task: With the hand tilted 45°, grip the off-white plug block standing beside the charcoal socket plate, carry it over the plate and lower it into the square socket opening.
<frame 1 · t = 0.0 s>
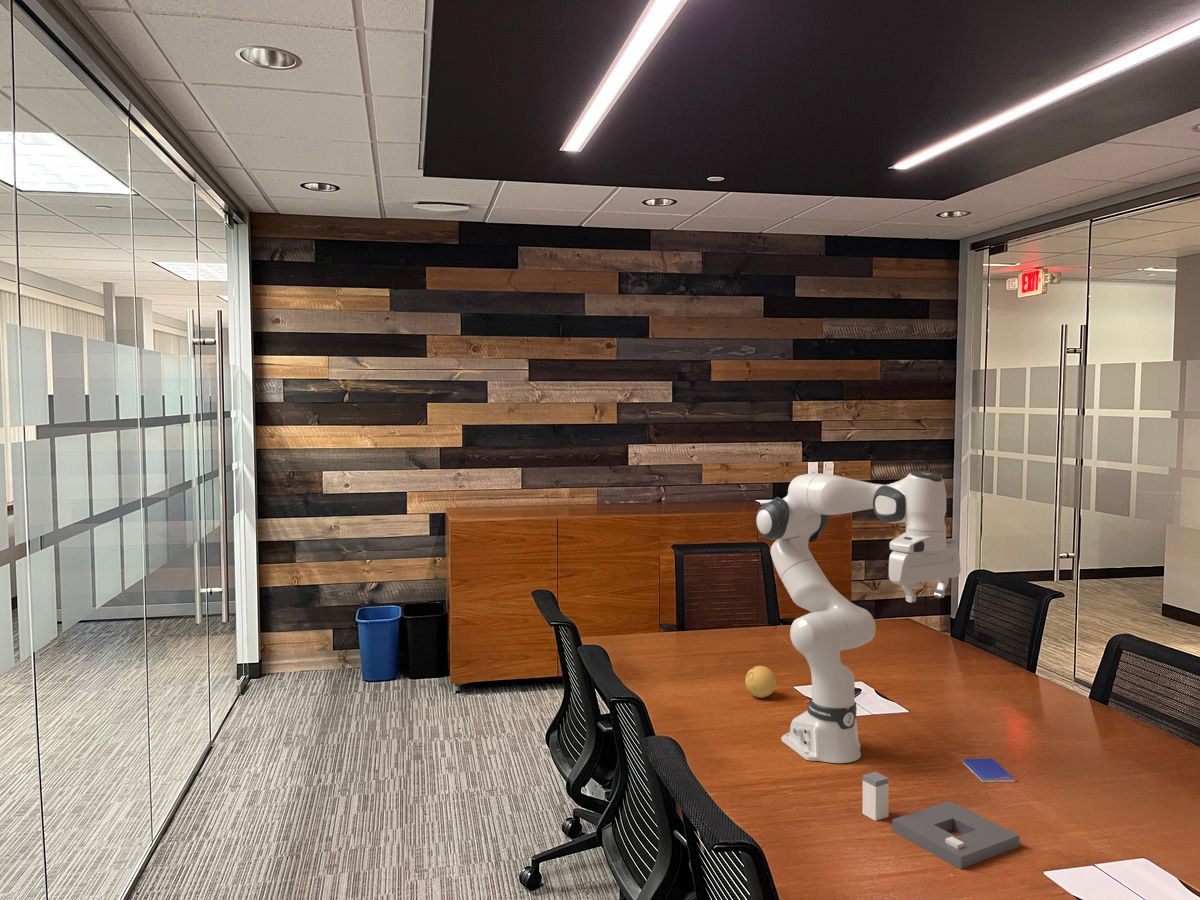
hand: (925, 599, 201), 48 cm above the table, tool pointing down, fingers open, 8 cm apart
stress ball: (760, 697, 275), on the table
socket plate: (954, 838, 185), on the table
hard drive: (988, 774, 218), on the table
plug: (875, 815, 196), on the table
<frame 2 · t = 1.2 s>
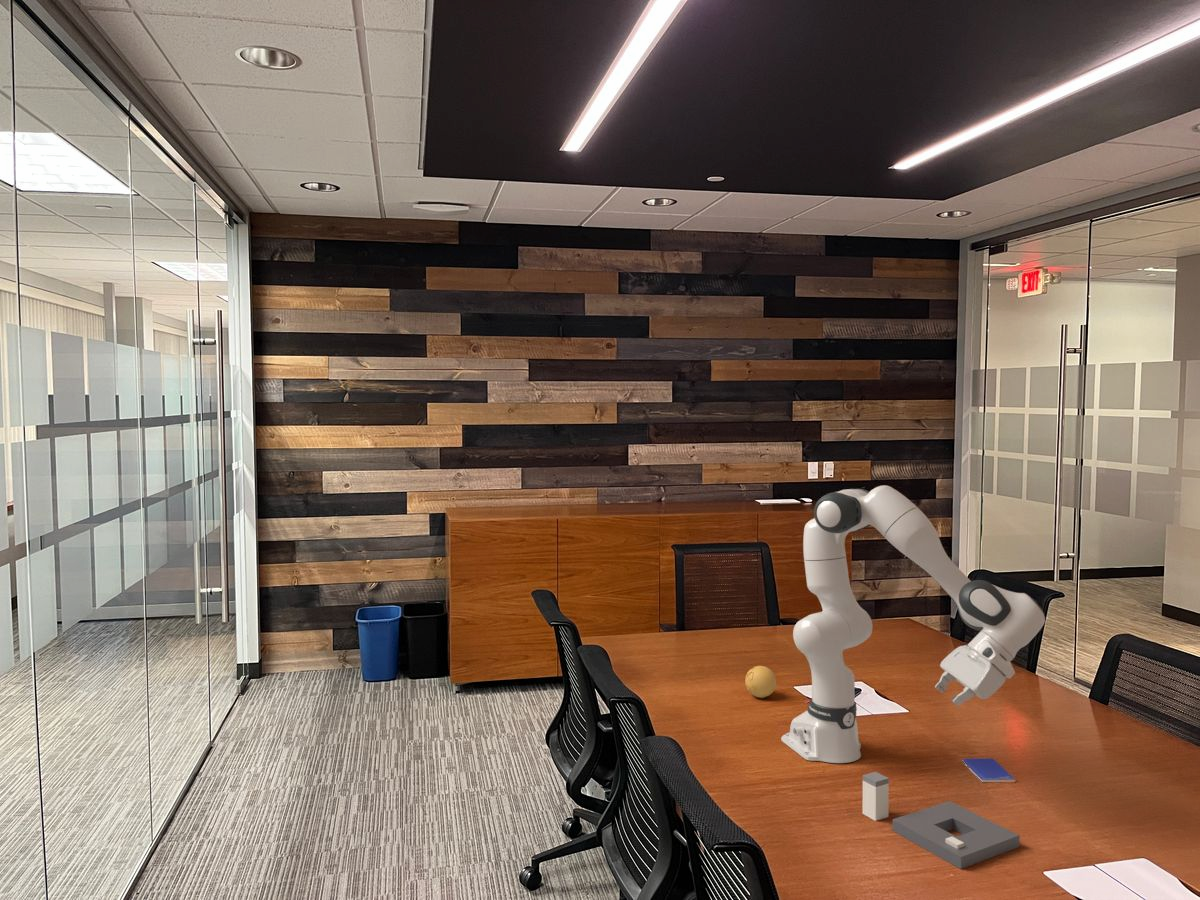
hand: (946, 696, 198), 26 cm above the table, tool tilted 45°, fingers open, 8 cm apart
nothing on the table moved.
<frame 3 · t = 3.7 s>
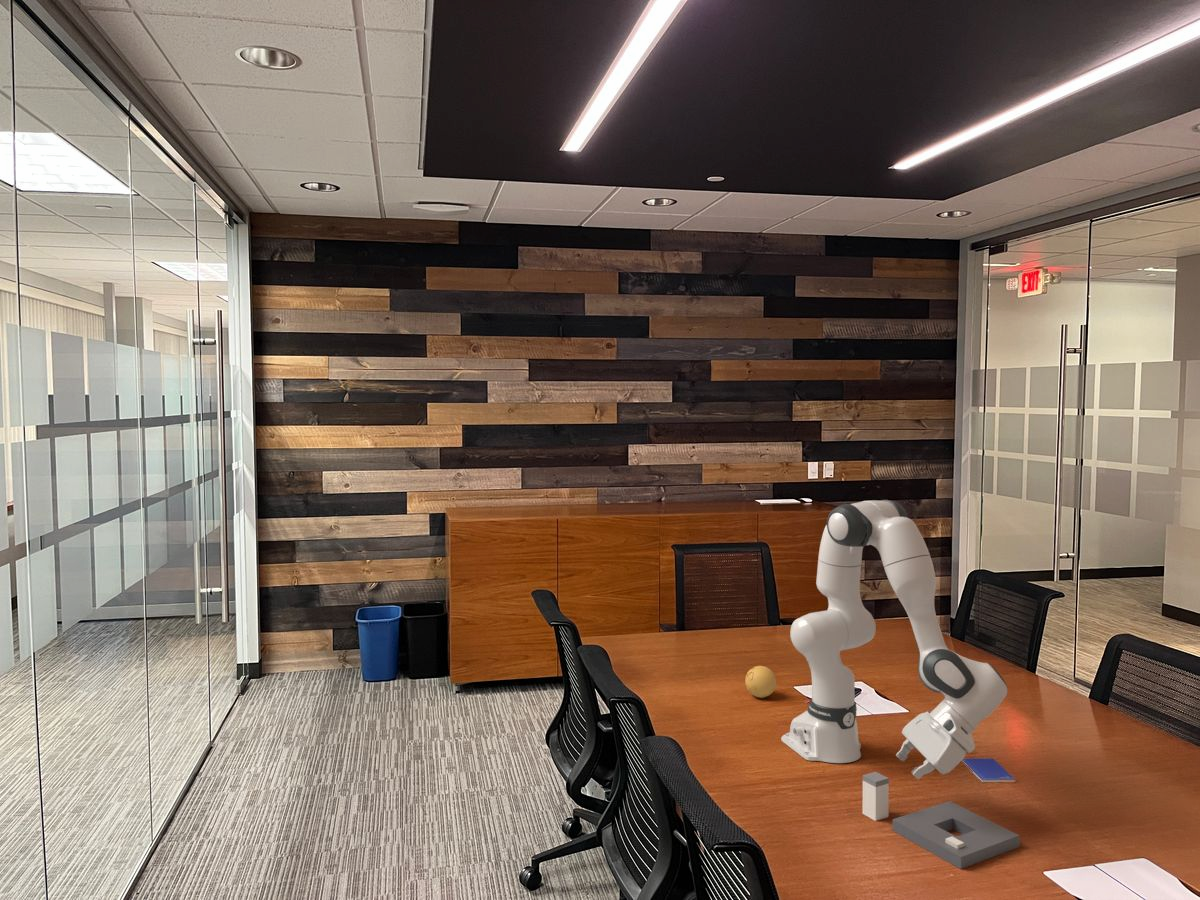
hand: (906, 767, 195), 11 cm above the table, tool tilted 45°, fingers open, 8 cm apart
nothing on the table moved.
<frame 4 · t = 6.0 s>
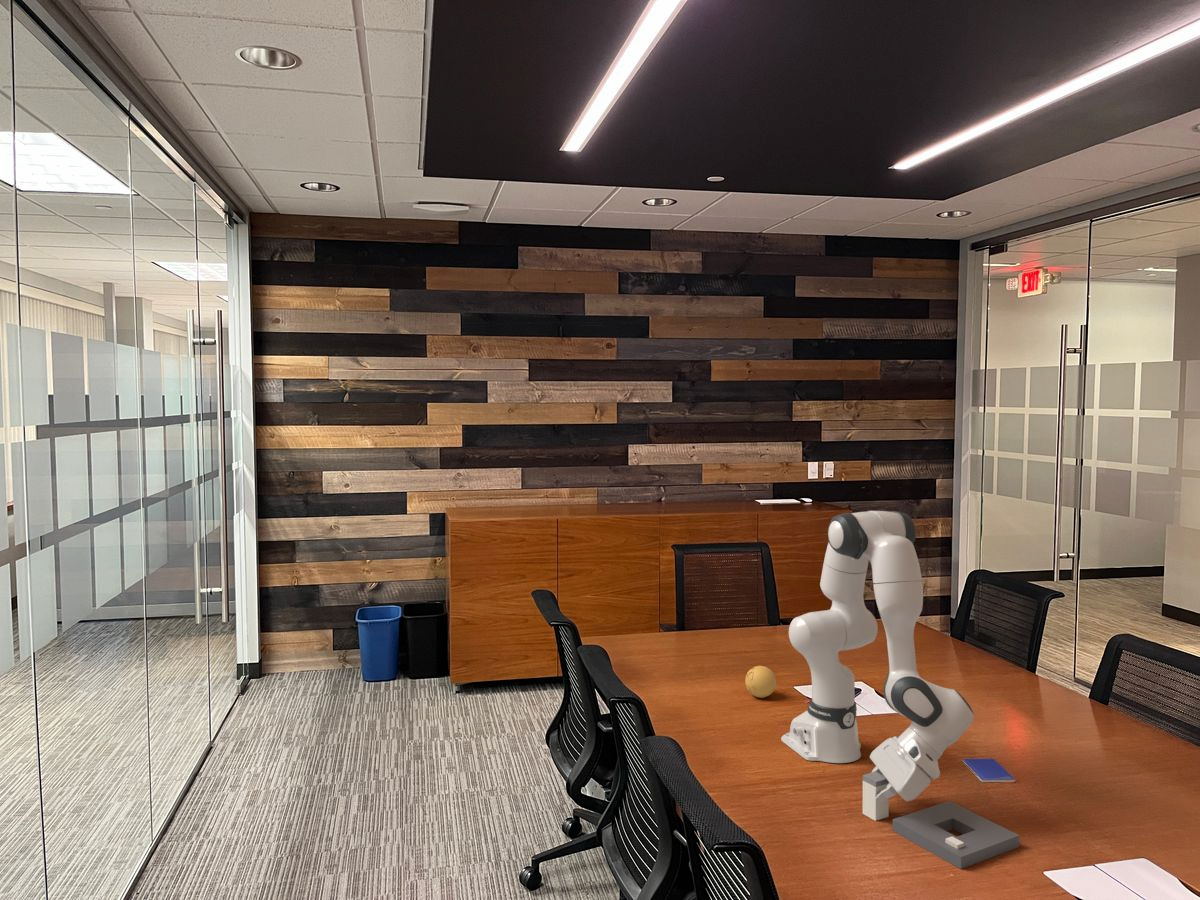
hand: (872, 792, 195), 5 cm above the table, tool tilted 45°, fingers closed on plug, 5 cm apart
plug: (875, 815, 195), on the table, touching gripper
everything else where it was.
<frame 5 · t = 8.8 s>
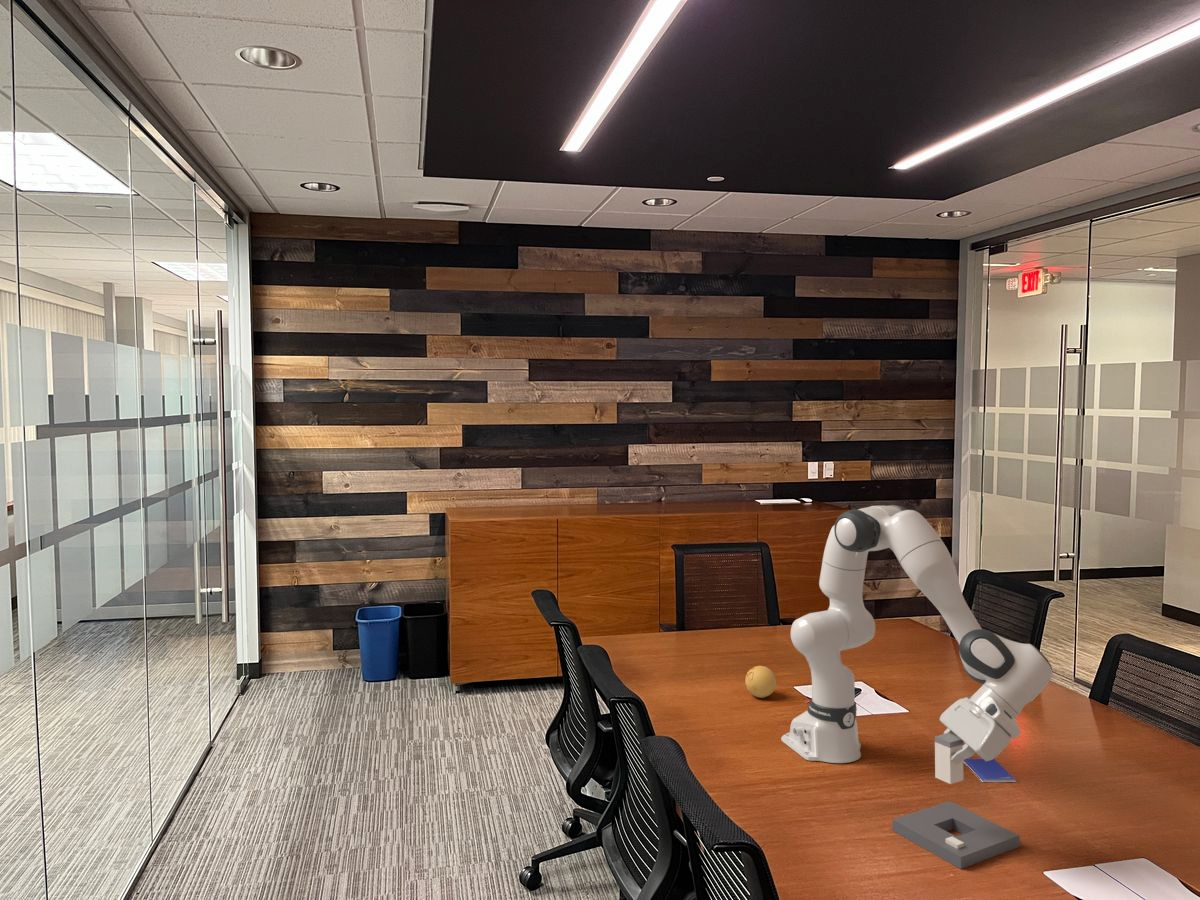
hand: (946, 755, 184), 18 cm above the table, tool tilted 45°, fingers closed on plug, 5 cm apart
plug: (949, 778, 184), point 13 cm above the table, touching gripper
everything else where it was.
when the fingers open (7 cm above the table, at t = 12.0 s): plug drops 1 cm, resting in socket plate.
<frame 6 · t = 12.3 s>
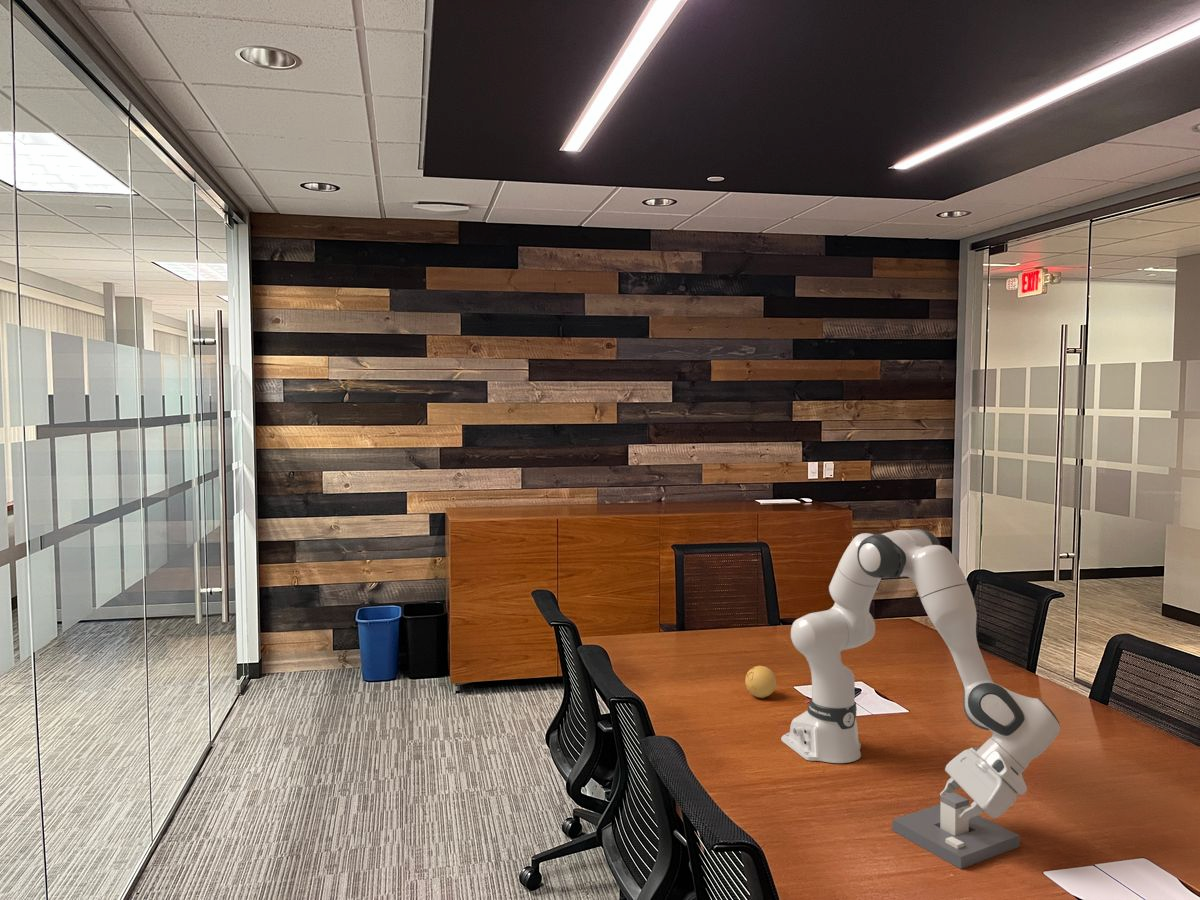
hand: (951, 808, 184), 7 cm above the table, tool tilted 45°, fingers open, 8 cm apart
plug: (954, 838, 185), resting in socket plate
everything else where it was.
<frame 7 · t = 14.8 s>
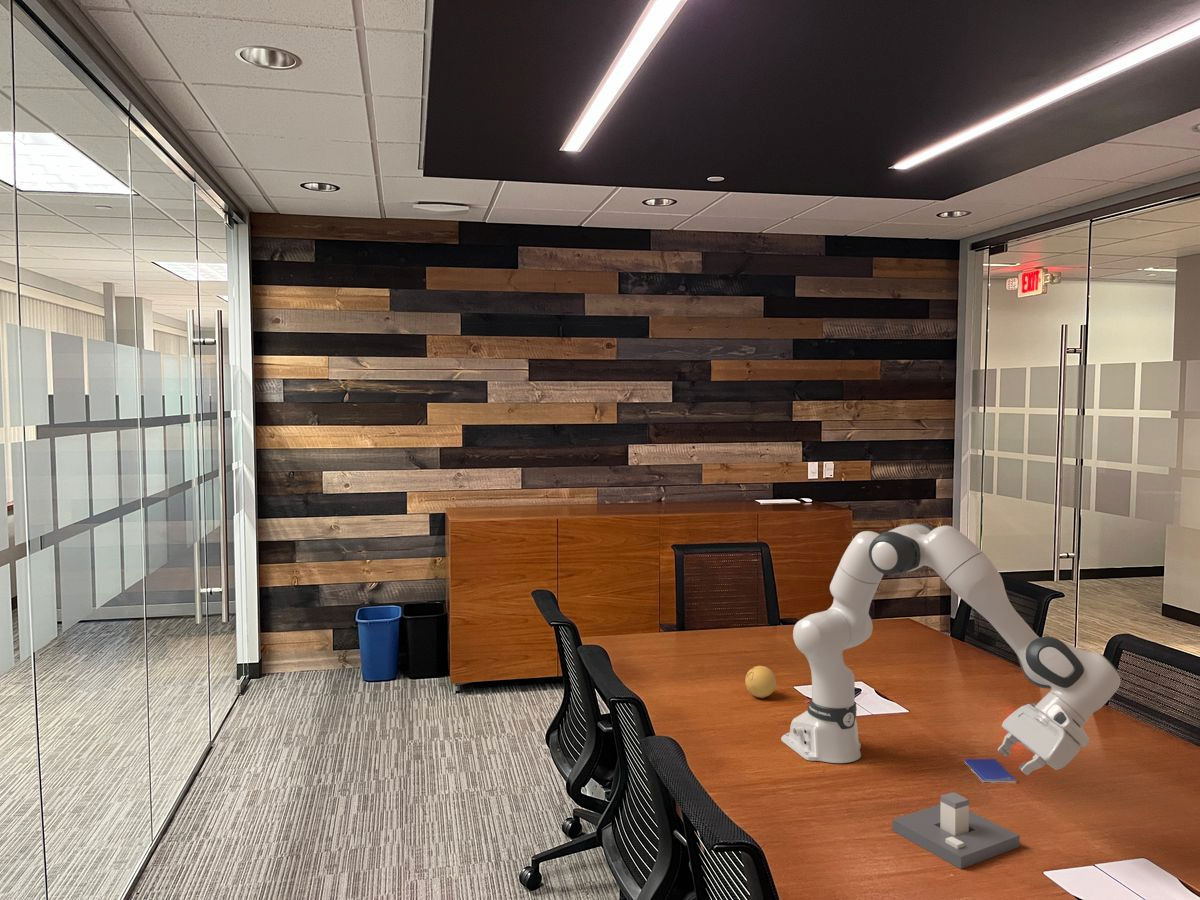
hand: (1011, 762, 184), 17 cm above the table, tool tilted 45°, fingers open, 8 cm apart
nothing on the table moved.
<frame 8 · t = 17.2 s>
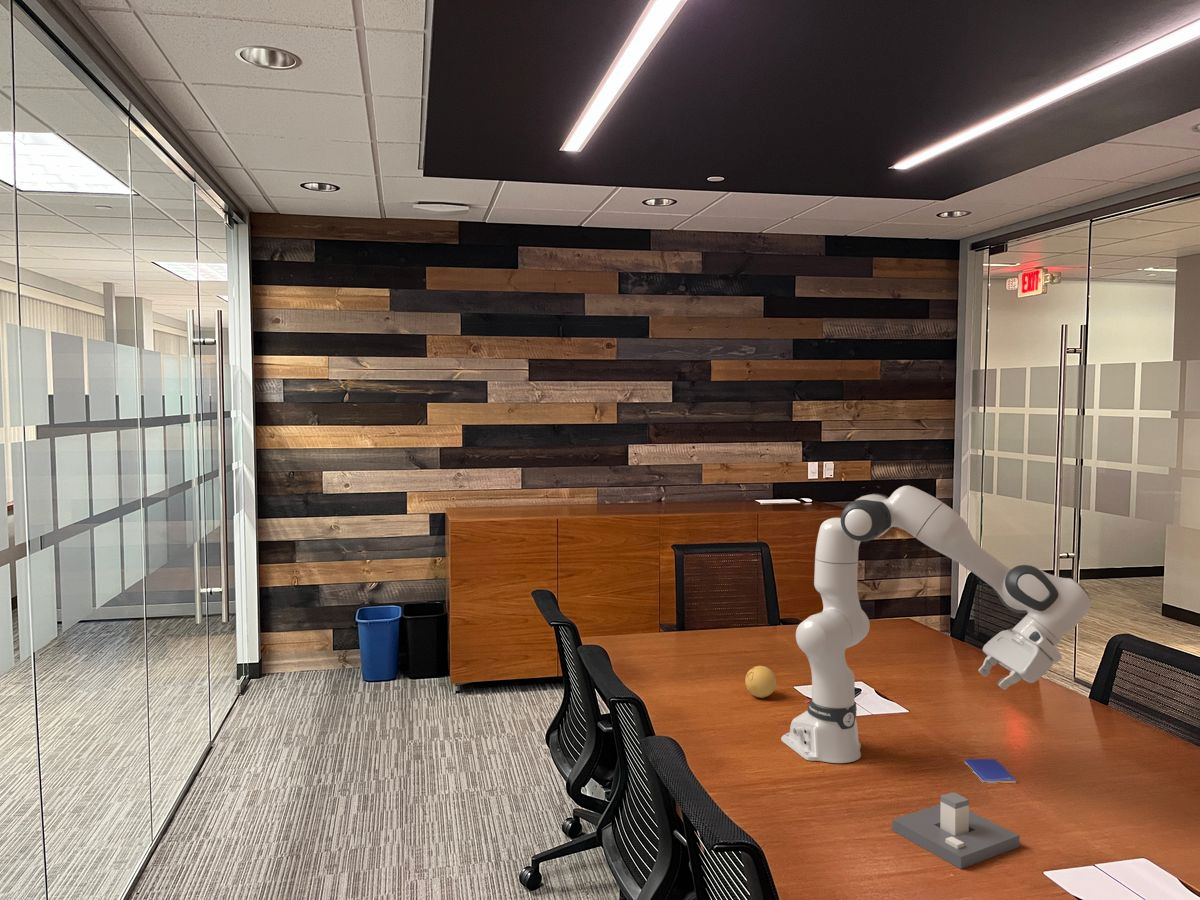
hand: (990, 680, 199), 29 cm above the table, tool tilted 45°, fingers open, 8 cm apart
nothing on the table moved.
at the end: plug 0.1 cm off-centre on the socket plate, point 0.0 cm above the socket plate's base; plug tilted 0°; the gripper is holding nothing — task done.
